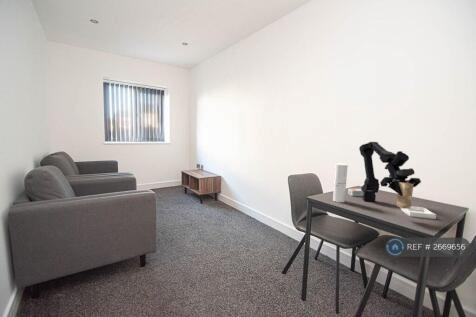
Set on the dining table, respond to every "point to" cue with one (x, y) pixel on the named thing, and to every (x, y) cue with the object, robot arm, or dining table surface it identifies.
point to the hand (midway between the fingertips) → (406, 195)
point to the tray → (419, 212)
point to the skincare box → (355, 192)
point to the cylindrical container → (340, 182)
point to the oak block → (405, 195)
